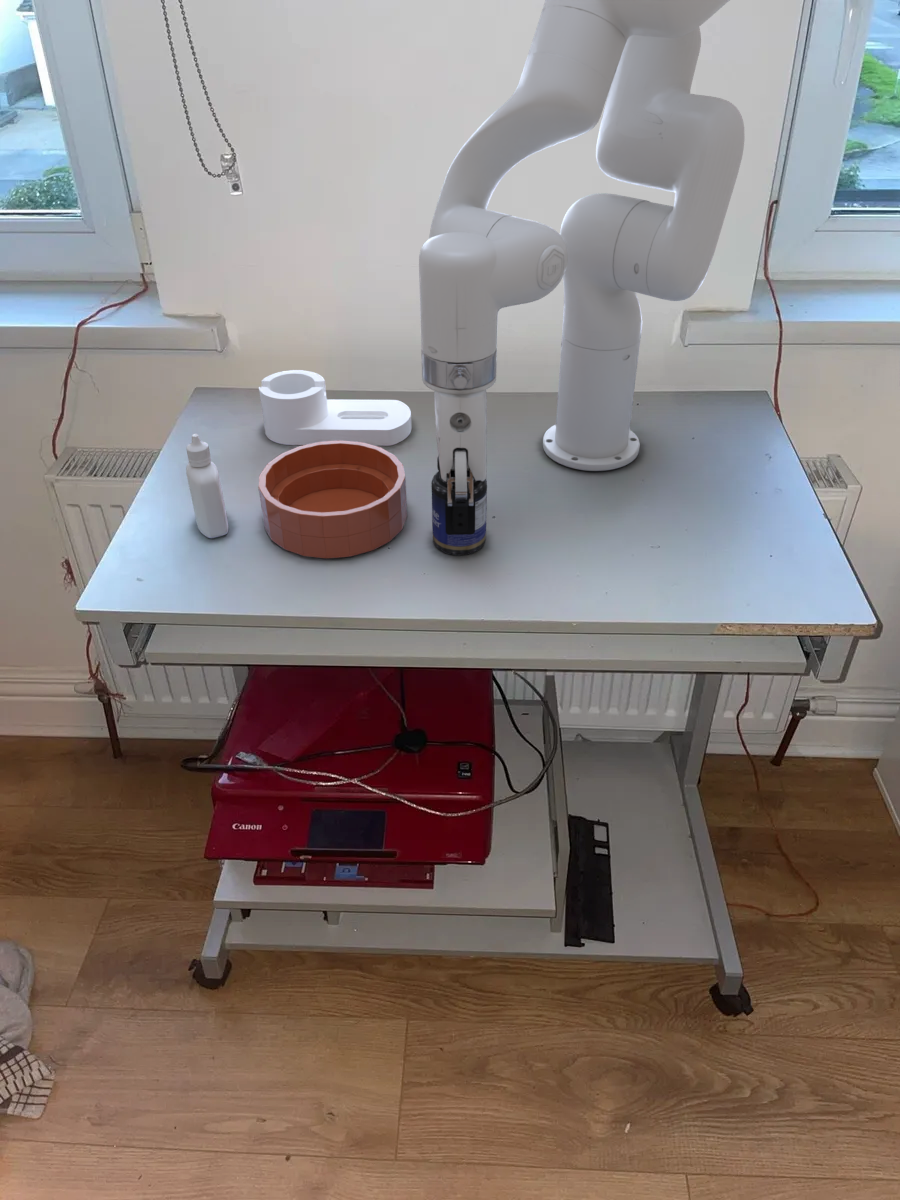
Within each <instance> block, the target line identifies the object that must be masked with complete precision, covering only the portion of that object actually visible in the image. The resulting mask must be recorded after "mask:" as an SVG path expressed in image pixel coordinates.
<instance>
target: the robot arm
mask: <svg viewBox="0 0 900 1200" xmlns="http://www.w3.org/2000/svg"><path fill="white" fill-rule="evenodd" d="M730 1H731V0H544V4H543V7H542V9H541V13H540V16H539V18H538V22H537V26H536V27H535V32H534V34H533V38H532V40H531V44H530V47H529V49H528V53H527V56H526V59H525V62H524V65H523V68H522V72H521V74H520V78H519V81H518V84H517V86H516V88H515V90H514V92H513V94H512V95H511V96H510V98H508V99H507V100H506V101H505V102H504V103H503V104H502V105H500V106H499V107H498V108H497V109H496V110H495V111H493V113H491V115H489V116H488V117H487V118H486V119H485V120H484V121H483V122H482V123H481V125H480V126H479V127H478V128H477V129H476V130H475V131H474V132H473V133H472V134H471V136H470V137H469V138H468V139H467V141H466V142H464V144H463V145H462V146H461V148H460V149H459V150H458V152H457V154H456V155H455V157H454V158H453V160H452V162H451V164H450V166H449V168H448V170H447V172H446V174H445V178H444V180H443V183H442V186H441V190H440V193H439V196H438V200H437V202H436V206H435V209H434V213H433V216H432V220H431V224H430V232H429V236H428V239H427V240H425V242H424V243H423V244H422V246H421V247H420V251H419V255H418V276H419V281H418V282H419V283H418V285H419V317H420V318H419V319H420V347H421V349H420V350H421V351H420V354H421V381H422V383H423V384H424V385H425V387H427V388H429V390H432V391H434V393H433V394H434V397H433V398H434V420H435V435H436V448H437V457H438V456H439V465H440V472H441V478H442V479H443V480H444V481H445V482H447V497H448V501H445V525H446V534H448V535H468V534H474V533H475V501H473V480H474V478H475V480H476V481H477V480H481V481H484V480H485V479H486V480H487V478H488V465H487V464H488V458H487V457H488V456H487V455H488V450H487V449H488V398H487V397H488V396H487V390H488V389H490V388H492V387H493V386H494V385H495V383H496V381H497V365H498V364H497V363H498V360H497V359H498V325H499V323H498V322H499V321H498V320H499V319H498V317H499V311H500V310H501V309H504V308H508V307H513V306H519V305H526V304H529V303H533V302H536V301H539V300H542V299H543V298H545V297H546V296H548V295H549V294H551V293H552V292H553V291H554V290H555V289H556V288H557V287H558V286H559V285H560V283H561V281H563V282H562V283H563V314H562V315H563V316H562V330H561V331H562V332H561V344H560V360H559V374H558V375H559V376H558V388H557V389H558V390H557V403H556V419H555V424H554V425H551V426H550V427H549V428H548V429H547V430H546V431H545V433H544V435H543V437H542V448H543V451H544V453H545V454H546V455H547V456H548V457H549V458H550V459H551V460H552V461H554V462H556V463H557V464H560V465H562V466H564V467H567V468H570V469H574V470H580V471H586V472H603V471H604V472H605V471H612V470H617V469H620V468H622V467H626V465H629V464H630V463H632V462H633V461H634V460H635V459H636V458H637V457H638V455H639V453H640V447H641V444H640V439H639V437H638V436H637V434H636V433H635V432H634V431H633V430H632V429H630V428H631V419H632V412H633V406H634V397H635V396H634V394H635V386H636V380H637V378H636V377H637V372H638V371H637V370H638V364H639V363H638V362H639V357H640V356H639V355H640V347H641V346H640V345H641V339H642V331H643V313H642V308H641V305H640V301H639V297H638V295H637V294H640V295H644V296H648V297H653V298H656V299H660V300H665V301H671V302H680V301H681V302H682V301H685V300H688V299H690V298H691V297H692V296H694V295H695V294H696V293H697V292H698V290H699V289H700V288H701V286H702V285H703V283H704V281H705V279H706V277H707V275H708V272H709V269H710V267H711V265H712V261H713V258H714V255H715V252H716V248H717V245H718V242H719V239H720V235H721V231H722V229H723V226H724V221H725V220H726V219H725V218H726V215H727V212H728V208H729V205H730V202H731V198H732V195H733V192H734V188H735V185H736V182H737V178H738V175H739V171H740V167H741V163H742V159H743V155H744V148H745V123H744V119H743V116H742V114H741V111H740V110H739V109H738V107H737V106H736V105H735V104H734V103H732V102H730V101H728V100H727V99H723V98H721V97H716V96H711V95H703V94H697V93H696V94H695V93H691V90H692V84H693V80H694V75H695V71H696V68H697V65H698V64H697V63H698V59H699V56H700V52H701V47H702V35H701V34H702V33H701V28H700V26H702V25H703V24H704V23H705V22H707V21H708V20H709V19H710V18H712V17H713V16H714V15H716V13H717V12H719V10H721V9H722V8H723V7H724V6H725V5H727V3H729V2H730ZM600 119H601V121H600ZM599 121H600V125H599V130H598V134H597V140H596V145H595V146H596V147H595V158H596V164H597V166H598V168H599V170H600V171H601V172H602V173H603V175H605V176H606V177H609V178H611V179H614V180H616V181H619V182H622V183H626V184H631V185H635V186H639V187H640V186H641V187H645V188H650V189H656V190H661V191H666V192H672V193H674V202H673V205H667V204H662V203H657V202H654V201H650V200H647V199H641V198H636V197H631V196H626V195H621V194H615V193H607V192H605V193H604V192H601V193H599V192H598V193H592V194H587V195H585V196H583V197H581V198H578V199H577V200H576V201H574V202H573V203H572V204H571V206H570V207H569V208H568V209H567V211H566V213H565V215H564V216H563V219H562V222H561V225H560V230H559V232H558V231H557V230H556V229H554V228H553V227H552V226H550V225H547V224H545V223H544V222H543V223H542V222H539V221H536V220H532V219H528V218H524V217H519V216H514V215H512V214H508V213H504V212H500V211H495V210H492V209H491V210H490V209H488V207H489V204H490V201H491V198H492V196H493V194H494V192H495V190H496V188H497V187H498V185H499V184H500V182H501V181H502V180H503V178H504V177H505V176H506V175H507V174H508V172H509V171H511V170H512V168H514V167H515V166H517V164H519V163H520V162H522V161H523V160H525V159H527V158H528V157H530V156H532V155H534V154H536V153H538V152H541V151H543V150H546V149H548V148H551V147H554V146H556V145H558V144H561V143H564V142H567V141H569V140H572V139H575V138H577V137H580V136H583V135H585V134H587V133H588V132H590V131H592V130H593V129H594V128H595V127H596V126H597V124H598V123H599ZM454 455H455V458H454ZM467 470H469V475H467ZM451 471H455V476H451ZM473 476H474V478H473ZM467 482H468V490H467ZM452 483H455V490H453V492H452Z"/></svg>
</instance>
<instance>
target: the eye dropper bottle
mask: <svg viewBox="0 0 900 1200" xmlns="http://www.w3.org/2000/svg"><path fill="white" fill-rule="evenodd" d="M185 450H186V455H187V460H188V462H187V464H186V467H185V474H186V479H187V484H188V488H189V489H188V490H189V493H190V498H191V502H192V507H193V512H194V518H195V521H196V525H197V529H198V531H199V532H200V533H201V534H202V535H203V536H204V537H206V538H208V539H215V538H219V537H223V536H226V535H227V534H228V533H229V527H230V526H229V520H228V514H227V510H226V504H225V499H224V493H223V488H222V481H221V477H220V473H219V469H218V466H217V465H216V464H215V463H214V461H212V457H211V452H210V451H211V450H210V448H209V443H208V442H205V441H203V440H202V439H201V437H200V436H199V434H198V433H193V434H191V442H190V443H188V444H187V445H186V447H185Z"/></svg>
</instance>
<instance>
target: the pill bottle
mask: <svg viewBox="0 0 900 1200" xmlns="http://www.w3.org/2000/svg"><path fill="white" fill-rule="evenodd" d="M454 458H455V455H454ZM436 459H437V460H436V462H437V463H436V467H437V471H436V473H435V474H434V476H433V477H432V479H431V486H430V487H431V522H432V543H433V544H434V546H435V547H436V548H437V549H438V550H439V551H441V552H443V553H444V554H448V555H453V556H466V555H471V554H474V553H476V552H478V551H479V550H480V549H482V548H483V547H484V545H485V543H486V539H487V506H488V505H487V501H488V499H487V498H488V495H487V494H488V481H487V478H486V479H485V480H484V481H481V480H477V481H476V480H475V478H474V476H473V478H474V480H473V501H475V533H474V534H468V535H448V534H446V525H445V501H448V497H447V482H445V481H444V480H443V479H442V478H441V472H440V465H439V456H438V455H437V457H436ZM467 475H469V470H467ZM451 476H455V471H451ZM453 490H455V483H452V492H453ZM467 490H468V482H467Z"/></svg>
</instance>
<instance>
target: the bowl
mask: <svg viewBox="0 0 900 1200" xmlns="http://www.w3.org/2000/svg"><path fill="white" fill-rule="evenodd" d="M405 472H406V471H405V466H404V464H403V462H401V461H400V459H398V457H397V456H396V455H395V454H393V453H392V452H390V451H388V450H387V449H385V448H383V447H382V446H374V445H371V444H367V443H363V442H353V441H341V440H338V441H323V442H316V443H312V444H307V445H298V446H296V447H294V448H292V449H289V450H286V451H284V452H282V453H280V454H278V455H277V456H275V457H274V458H273V459H272V460H270V461H269V462H268V463H266V465H265V466H264V468H263V469H262V471H261V472H260V474H259V475H258V487H257V488H258V494H259V500H260V506H261V512H262V513H261V514H262V520H263V526H264V529H265V532H266V533H267V535H268V536H269V538H270V540H271V541H272V542H273V543H275V544H276V545H277V546H279V547H281V548H282V549H284V550H285V551H288V552H291V553H294V554H297V555H299V556H303V557H308V558H318V559H335V558H336V559H337V558H350V557H353V556H357V555H362V554H364V553H368V552H372V551H374V550H376V549H378V548H380V547H382V546H384V545H386V544H388V543H389V542H391V541H392V540H393V539H394V538H395V537H396V536H397V535H399V533H401V532H402V530H403V528H404V526H405V524H406V522H407V519H408V506H407V504H408V503H407V485H406V481H407V480H406V473H405Z"/></svg>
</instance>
